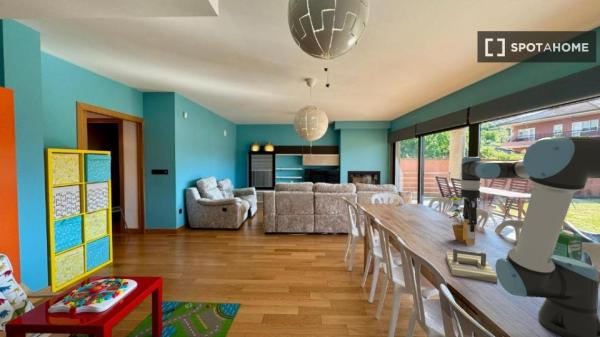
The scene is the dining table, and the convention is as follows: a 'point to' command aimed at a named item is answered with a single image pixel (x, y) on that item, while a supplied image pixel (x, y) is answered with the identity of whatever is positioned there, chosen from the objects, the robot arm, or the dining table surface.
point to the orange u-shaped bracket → (465, 234)
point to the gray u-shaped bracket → (483, 255)
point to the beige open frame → (480, 273)
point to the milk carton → (569, 245)
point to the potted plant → (457, 228)
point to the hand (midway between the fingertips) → (468, 235)
